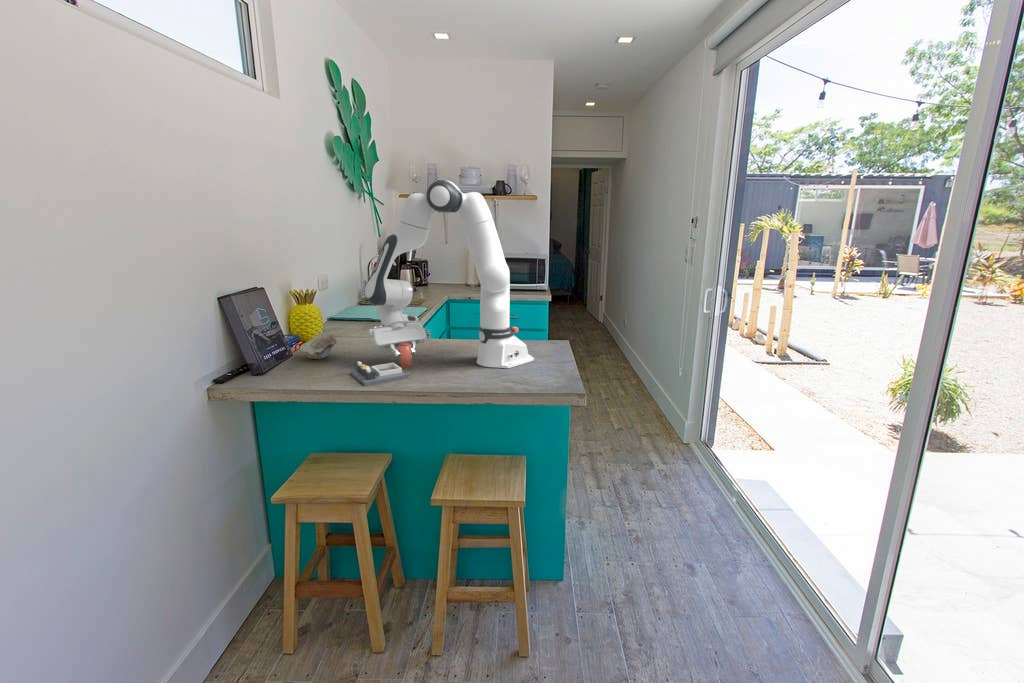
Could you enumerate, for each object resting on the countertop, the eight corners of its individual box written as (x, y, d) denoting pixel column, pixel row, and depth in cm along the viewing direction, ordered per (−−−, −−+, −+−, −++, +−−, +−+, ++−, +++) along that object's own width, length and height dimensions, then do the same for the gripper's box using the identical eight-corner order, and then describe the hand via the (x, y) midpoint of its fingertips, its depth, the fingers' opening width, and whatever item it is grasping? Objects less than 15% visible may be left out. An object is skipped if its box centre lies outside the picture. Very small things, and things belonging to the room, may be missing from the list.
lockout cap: (409, 364, 190) (408, 341, 188) (414, 367, 186) (413, 343, 184) (397, 366, 187) (396, 342, 185) (402, 369, 184) (401, 345, 181)
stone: (326, 364, 190) (324, 338, 188) (294, 361, 194) (291, 335, 191) (342, 356, 200) (340, 332, 198) (311, 353, 204) (309, 329, 201)
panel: (391, 367, 187) (390, 354, 186) (407, 377, 175) (406, 365, 174) (350, 374, 179) (349, 361, 177) (364, 385, 167) (363, 372, 165)
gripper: (369, 322, 182) (380, 354, 177) (421, 316, 194) (433, 346, 188) (365, 332, 187) (376, 363, 182) (417, 325, 198) (428, 355, 193)
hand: (405, 354), depth 185 cm, fingers closed on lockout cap, 5 cm apart
